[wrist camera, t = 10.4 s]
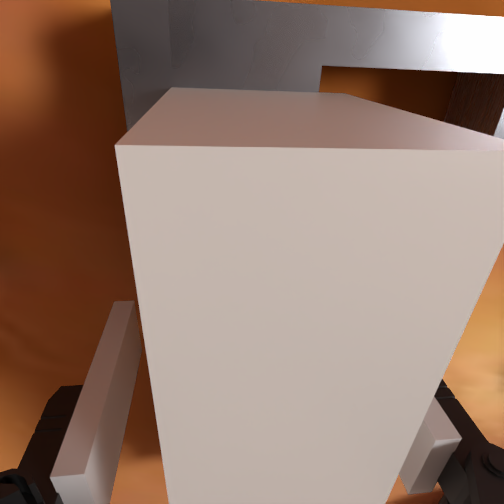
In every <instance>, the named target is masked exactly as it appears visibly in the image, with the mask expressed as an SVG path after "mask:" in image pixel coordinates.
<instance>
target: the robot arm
mask: <svg viewBox="0 0 504 504" xmlns="http://www.w3.org/2000/svg"><path fill="white" fill-rule="evenodd" d="M141 353H142V347H141V340H140V334H139V328H138V321H137V315H136V309H135V303H134V301H114V303H113V306H112V309H111V312H110V314H109V317H108V320H107V323H106V325H105V328H104V331H103V333H102V336H101V339H100V342H99V344H98V347H97V350H96V353H95V355H94V358H93V361H92V363H91V366H90V369H89V372H88V374H87V377H86V380H85V383H84V385H75V386H61V387H60V388H59V389H58V390H57V392H56V393H55V394H54V395H53V396H52V397H51V398H50V399H49V400H48V402H47V404H46V407H45V409H44V411H43V413H42V415H41V420H39V422H38V424H37V426H36V429H35V433H34V434H33V435H32V438H31V440H30V442H29V444H28V446H27V449H26V451H25V453H24V455H23V457H22V460H21V462H20V464H19V466H18V469H10V470H6V471H3V472H0V504H110V499H111V495H112V490H113V485H114V481H115V476H116V471H117V467H118V462H119V457H120V452H121V448H122V443H123V438H124V434H125V429H126V424H127V419H128V415H129V410H130V405H131V401H132V396H133V391H134V386H135V382H136V377H137V372H138V368H139V363H140V358H141ZM399 475H400V478H401V480H402V482H403V484H404V486H405V488H406V491H407V493H408V495H409V494H418V493H426V492H432V490H433V488H434V487H435V485H436V483H437V481H438V483H439V485H440V487H441V488H442V490H443V492H444V495H443V497H442V498H441V500H440V502H439V503H438V504H504V449H502V448H500V447H498V446H496V445H494V444H491V443H489V442H488V441H487V440H486V438H485V437H484V436H483V434H482V433H481V432H480V430H479V429H478V427H477V426H476V425H475V423H474V422H473V421H472V419H471V418H470V416H469V415H468V414H467V412H466V411H465V410H464V408H463V407H462V405H461V404H460V403H459V401H458V400H457V399H455V396H454V394H453V393H452V392H451V390H450V389H449V388H447V385H446V383H445V382H444V381H443V379H442V380H441V382H440V384H439V386H438V389H437V391H436V393H435V395H434V397H433V400H432V402H431V404H430V406H429V408H428V411H427V413H426V415H425V417H424V419H423V422H422V424H421V426H420V428H419V430H418V433H417V435H416V437H415V439H414V441H413V444H412V446H411V448H410V450H409V452H408V455H407V457H406V459H405V461H404V463H403V466H402V468H401V470H400V472H399Z"/></svg>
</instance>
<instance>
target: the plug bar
mask: <svg viewBox="0 0 504 504" xmlns="http://www.w3.org/2000/svg"><path fill="white" fill-rule="evenodd" d="M115 151H116V158H117V165H118V171H119V178H120V184H121V191H122V197H123V204H124V211H125V217H126V224H127V230H128V237H129V243H130V250H131V257H132V263H133V270H134V276H135V283H136V289H137V296H138V303H139V309H140V316H141V322H142V329H143V335H144V342H145V349H146V355H147V362H148V368H149V375H150V381H151V388H152V395H153V401H154V408H155V414H156V421H157V428H158V434H159V441H160V447H161V454H162V460H163V467H164V474H165V480H166V487H167V493H168V500H169V504H385V503H386V501H387V499H388V496H389V494H390V492H391V490H392V488H393V485H394V483H395V481H396V479H397V477H398V474H399V472H400V470H401V468H402V466H403V463H404V461H405V459H406V457H407V455H408V452H409V450H410V448H411V446H412V444H413V441H414V439H415V437H416V435H417V433H418V430H419V428H420V426H421V424H422V422H423V419H424V417H425V415H426V413H427V411H428V408H429V406H430V404H431V402H432V400H433V397H434V395H435V393H436V391H437V389H438V386H439V384H440V382H441V380H442V378H443V375H444V373H445V371H446V369H447V367H448V364H449V362H450V360H451V358H452V356H453V353H454V351H455V349H456V347H457V345H458V342H459V340H460V338H461V336H462V334H463V331H464V329H465V327H466V325H467V323H468V320H469V318H470V316H471V314H472V312H473V309H474V307H475V305H476V303H477V301H478V298H479V296H480V294H481V292H482V290H483V287H484V285H485V283H486V281H487V279H488V276H489V274H490V272H491V270H492V268H493V265H494V263H495V261H496V259H497V257H498V254H499V252H500V250H501V248H502V246H503V243H504V139H501V138H497V137H494V136H490V135H487V134H483V133H480V132H476V131H473V130H469V129H466V128H463V127H459V126H456V125H452V124H449V123H445V122H442V121H438V120H435V119H431V118H428V117H425V116H421V115H418V114H414V113H411V112H407V111H404V110H400V109H397V108H393V107H390V106H386V105H383V104H380V103H376V102H373V101H369V100H366V99H362V98H359V97H355V96H352V95H348V94H345V93H320V92H292V91H263V90H235V89H206V88H177V87H171V88H170V89H169V90H168V91H167V92H166V93H165V94H164V95H163V96H162V97H161V98H160V99H159V100H158V101H157V103H156V104H155V105H154V106H153V107H152V108H151V109H150V110H149V111H148V112H147V113H146V114H145V115H144V116H143V117H142V118H141V119H140V120H139V121H138V122H137V123H136V124H135V125H134V126H133V127H132V128H131V129H130V130H129V131H128V132H127V133H126V134H125V135H124V136H123V137H122V138H121V139H120V140H119V141H118V142H117V143H116V144H115Z"/></svg>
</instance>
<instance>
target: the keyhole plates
mask: <svg viewBox="0 0 504 504" xmlns="http://www.w3.org/2000/svg"><path fill="white" fill-rule="evenodd" d="M110 3H111V10H112V18H113V26H114V33H115V41H116V48H117V56H118V64H119V71H120V79H121V87H122V94H123V102H124V110H125V117H126V125H127V132H128V131H129V130H130V129H131V128H132V127H133V126H134V125H135V124H136V123H137V122H138V121H139V120H140V119H141V118H142V117H143V116H144V115H145V114H146V113H147V112H148V111H149V110H150V109H151V108H152V107H153V106H154V105H155V104H156V103H157V101H158V100H159V99H160V98H161V97H162V96H163V95H164V94H165V93H166V92H167V91H168V90H169V89H170V88H171V87H177V88H206V89H235V90H263V91H292V92H319V86H320V78H321V70H322V66H344V67H366V68H388V69H410V70H432V71H454V72H458V75H457V78H456V82H455V85H454V88H453V92H452V95H451V98H450V102H449V105H448V108H447V112H446V115H445V119H444V122H445V123H449V124H452V125H456V126H459V127H463V128H466V129H469V130H473V131H476V132H480V133H483V134H487V135H490V136H494V137H497V138H501V139H504V17H493V16H478V15H464V14H449V13H434V12H419V11H404V10H389V9H375V8H360V7H345V6H330V5H315V4H301V3H286V2H271V1H256V0H110Z"/></svg>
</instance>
